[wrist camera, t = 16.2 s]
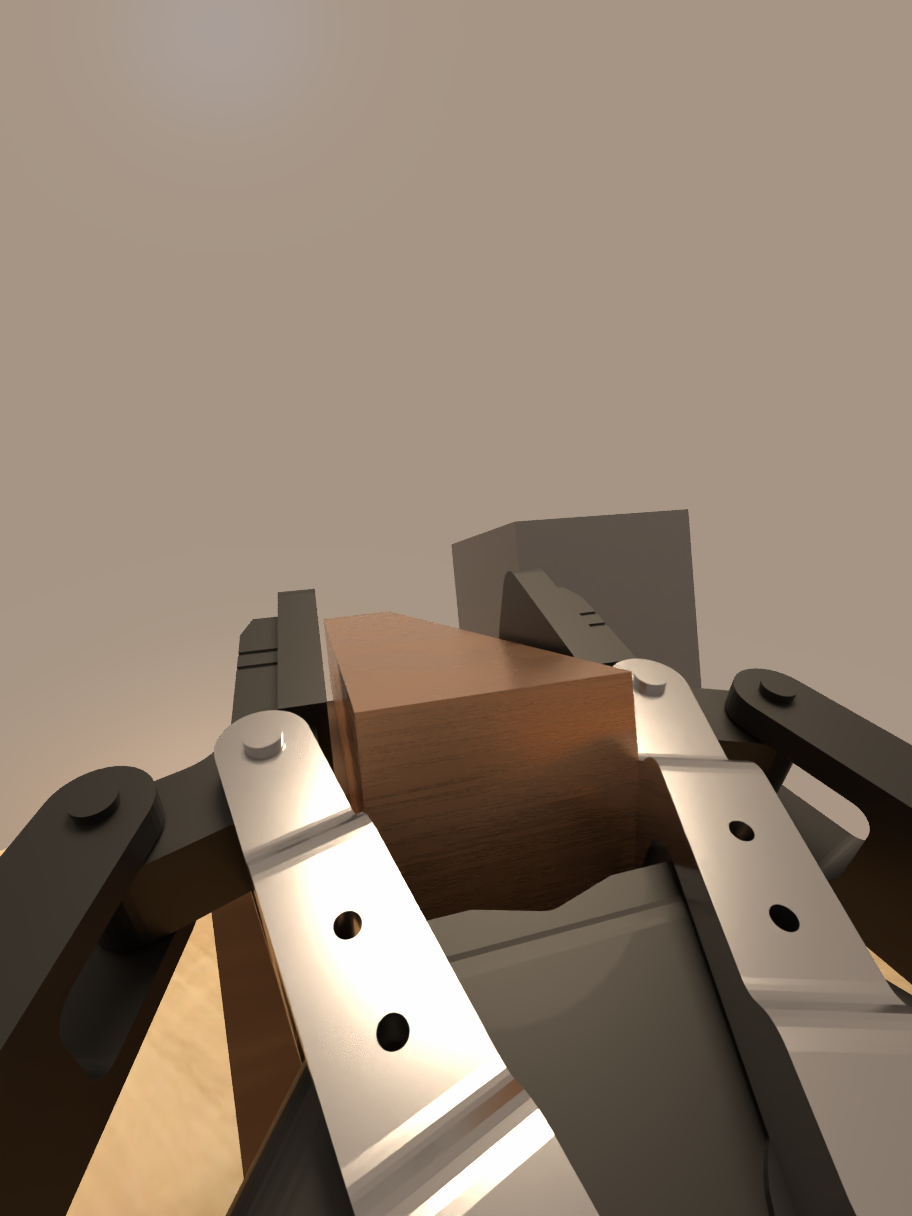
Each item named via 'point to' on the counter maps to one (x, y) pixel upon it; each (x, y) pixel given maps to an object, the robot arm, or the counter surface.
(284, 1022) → the wood grain block
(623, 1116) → the robot arm
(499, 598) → the stand
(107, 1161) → the counter surface
